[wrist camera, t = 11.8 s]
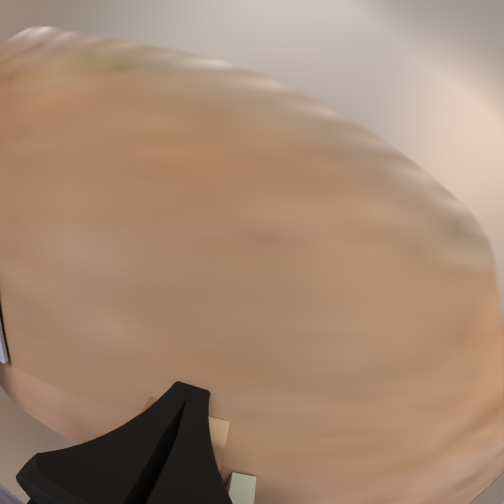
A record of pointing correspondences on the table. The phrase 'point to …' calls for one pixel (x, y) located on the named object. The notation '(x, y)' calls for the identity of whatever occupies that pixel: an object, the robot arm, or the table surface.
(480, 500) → the gray rectangular frame
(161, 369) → the table surface
